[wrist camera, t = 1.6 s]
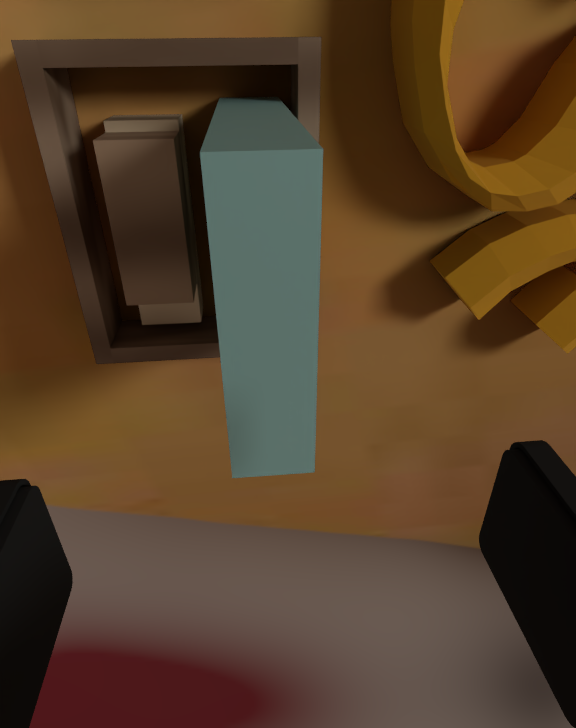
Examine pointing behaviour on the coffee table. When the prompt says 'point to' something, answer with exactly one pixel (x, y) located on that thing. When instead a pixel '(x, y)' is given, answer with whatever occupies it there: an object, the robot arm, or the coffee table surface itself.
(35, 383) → the coffee table surface
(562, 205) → the decorative symbol
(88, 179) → the brown rectangular frame
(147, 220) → the offcut stack
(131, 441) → the coffee table surface
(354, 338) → the coffee table surface
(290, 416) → the teal rectangular block
